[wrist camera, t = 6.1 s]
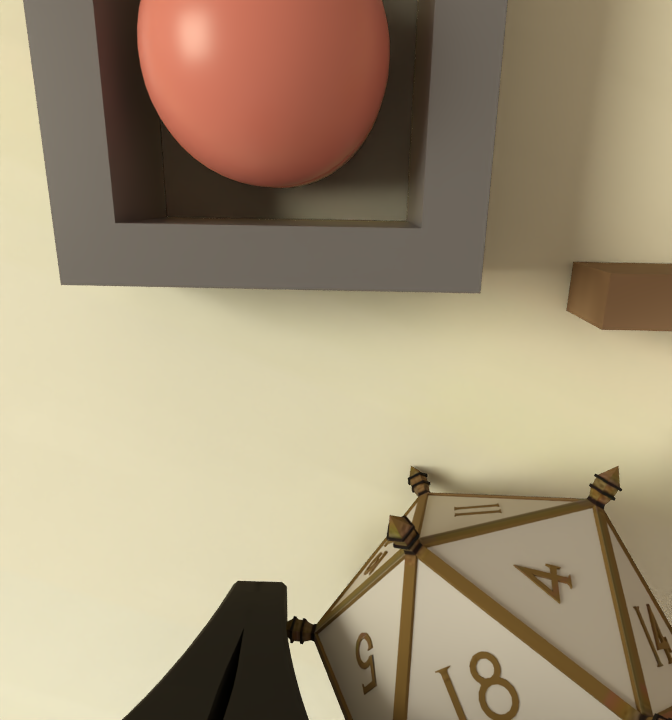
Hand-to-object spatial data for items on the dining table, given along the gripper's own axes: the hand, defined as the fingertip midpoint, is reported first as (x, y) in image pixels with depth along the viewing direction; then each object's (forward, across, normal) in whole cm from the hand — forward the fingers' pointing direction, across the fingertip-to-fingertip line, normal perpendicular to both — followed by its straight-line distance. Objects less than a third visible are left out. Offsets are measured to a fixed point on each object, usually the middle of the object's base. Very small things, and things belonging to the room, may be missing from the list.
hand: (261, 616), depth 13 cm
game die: (+3, -5, 0) cm, 6 cm away
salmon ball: (+3, 0, -12) cm, 12 cm away
